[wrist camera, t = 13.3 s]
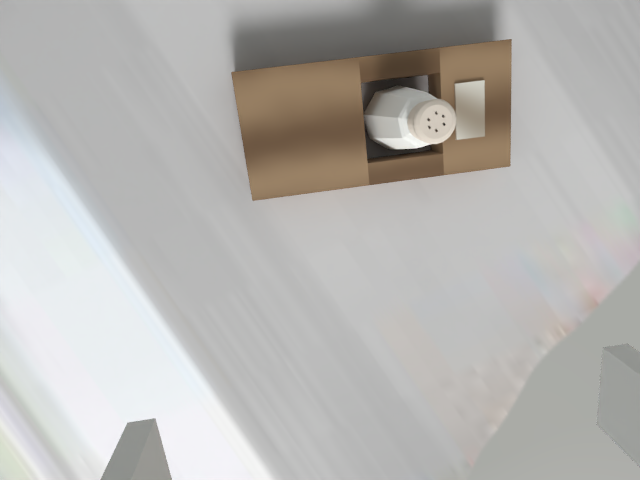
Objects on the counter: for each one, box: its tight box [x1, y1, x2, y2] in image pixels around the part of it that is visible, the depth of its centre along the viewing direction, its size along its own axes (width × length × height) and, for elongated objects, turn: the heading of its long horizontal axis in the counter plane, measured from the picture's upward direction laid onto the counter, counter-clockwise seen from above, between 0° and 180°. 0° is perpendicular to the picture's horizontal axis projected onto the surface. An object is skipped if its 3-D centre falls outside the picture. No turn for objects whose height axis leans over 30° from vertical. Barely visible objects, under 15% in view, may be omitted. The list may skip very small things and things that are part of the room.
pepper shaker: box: [363, 85, 456, 150], centre depth 34 cm, size 5×5×11 cm
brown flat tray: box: [231, 39, 511, 201], centre depth 37 cm, size 10×22×3 cm, turn 97°
